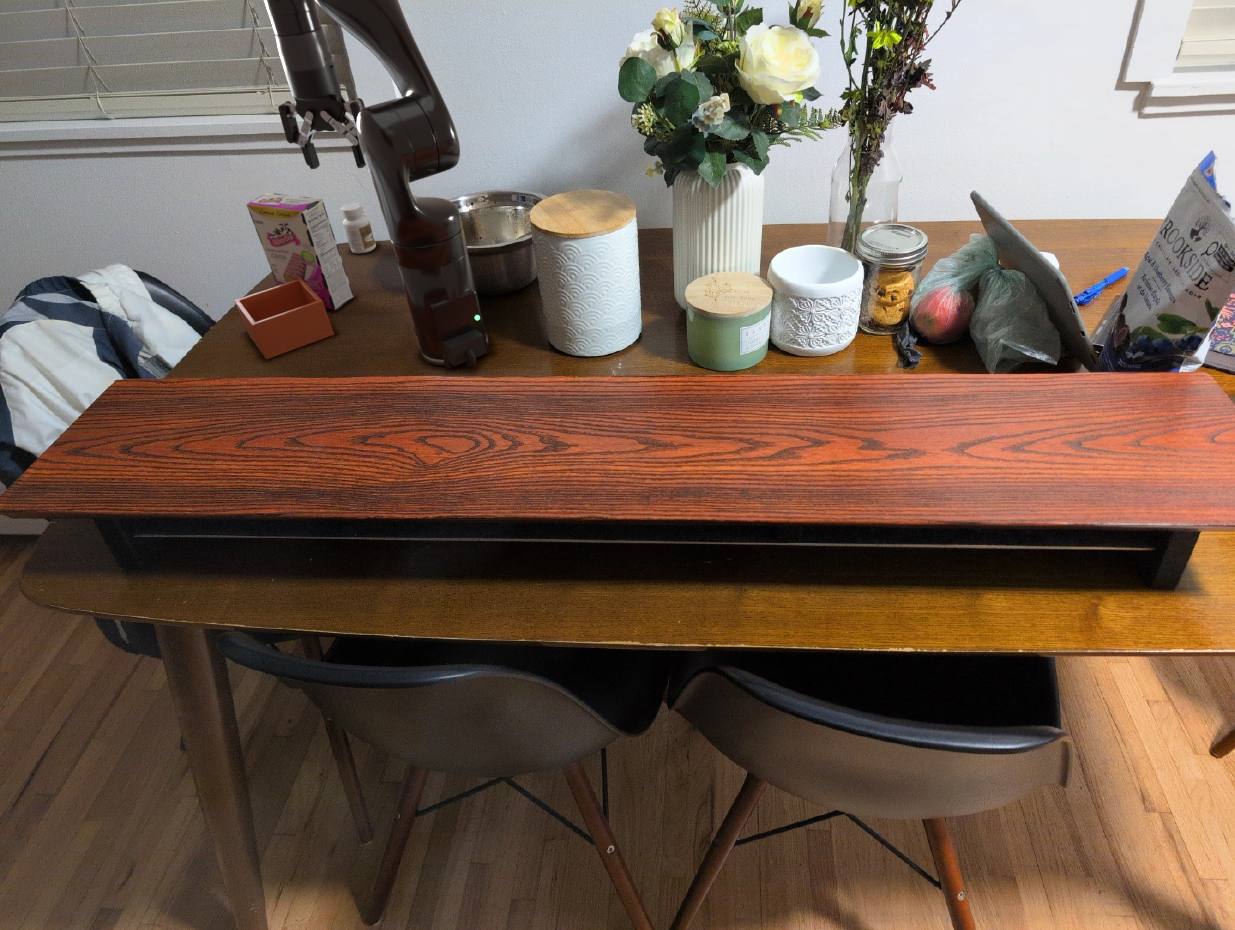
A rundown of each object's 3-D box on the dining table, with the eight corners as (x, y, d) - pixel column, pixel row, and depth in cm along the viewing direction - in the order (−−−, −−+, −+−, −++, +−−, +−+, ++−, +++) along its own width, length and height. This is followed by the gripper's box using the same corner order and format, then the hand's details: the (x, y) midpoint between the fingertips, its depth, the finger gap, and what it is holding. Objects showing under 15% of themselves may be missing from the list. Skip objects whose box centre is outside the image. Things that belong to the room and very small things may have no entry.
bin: (334, 334, 125) (322, 300, 122) (266, 359, 122) (252, 325, 118) (312, 310, 132) (301, 277, 129) (247, 333, 128) (233, 300, 125)
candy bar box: (281, 303, 136) (243, 203, 125) (302, 289, 139) (267, 191, 129) (335, 312, 131) (300, 209, 121) (355, 297, 135) (323, 196, 125)
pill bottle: (373, 253, 148) (360, 210, 143) (348, 255, 148) (335, 212, 143) (379, 242, 151) (367, 200, 147) (355, 244, 152) (342, 202, 147)
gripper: (254, 71, 129) (289, 176, 139) (339, 66, 126) (369, 174, 137) (278, 58, 135) (310, 160, 145) (360, 53, 132) (387, 158, 142)
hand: (338, 167), depth 141 cm, fingers open, 8 cm apart
